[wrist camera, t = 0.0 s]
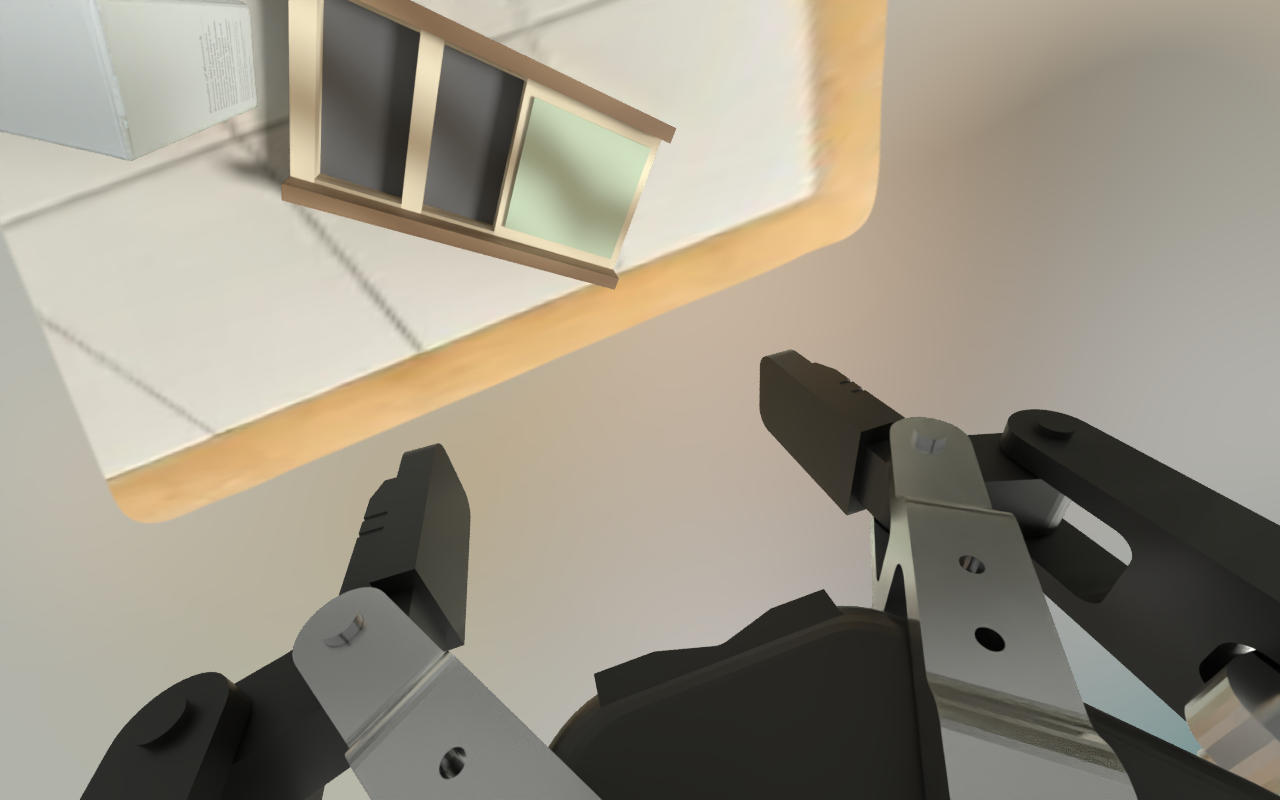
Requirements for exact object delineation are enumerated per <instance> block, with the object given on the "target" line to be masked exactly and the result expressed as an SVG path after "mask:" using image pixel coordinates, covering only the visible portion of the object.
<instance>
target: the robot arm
mask: <svg viewBox="0 0 1280 800" xmlns="http://www.w3.org/2000/svg"><path fill="white" fill-rule="evenodd" d="M760 414H761V418H762V420H763V423H764V425H765V427H766V428H767V430H768V431H769V432H770V433H771V434H772V435H773V436H774V437H775V438H776V439H777V440H778V441H779V443H781V445H782V446H783V447H784V448H785V449H786V450H787V451H788V452H789V453H790V455H791V456H792V457H793V458H794V459H795V460H796V461H797V462H798V463H799V464H800V465H801V466H802V467H803V469H805V471H806V472H807V473H808V474H809V475H810V476H811V477H812V478H813V479H814V480H815V482H816V483H817V484H818V485H819V486H820V487H821V488H822V489H823V490H824V491H825V492H826V493H827V495H828V496H829V497H830V498H831V499H832V500H833V501H834V502H835V503H836V504H837V505H838V506H839V507H840V509H841V510H842V511H843V512H844V513H845V514H846V515H850V514H853V513H856V512H859V511H862V510H865V509H867V510H868V511H869V512H870V513H871V514H872V518H871V524H870V535H871V564H872V594H873V595H872V608H864V607H857V606H836V605H835V604H834V603H833V601H832V600H831V598H830V597H829V596H828V594H827V593H826V592H825V590H824V589H823V590H820V591H817V592H814V593H812V594H809V595H806V596H804V597H801V598H798V599H796V600H793V601H790V602H788V603H785V604H782V605H779V606H777V607H774V608H772V609H770V610H768V611H767V612H766V613H764V614H763V615H762V616H760V617H759V618H758V619H756V620H755V621H754V622H752V623H751V624H750V625H748V626H747V627H745V628H744V629H743V630H741V631H740V632H739V633H737V634H736V635H735V636H733V637H732V638H731V639H729V640H728V641H727V642H725V643H723V644H721V645H718V646H711V647H700V648H689V649H679V650H667V651H656V652H652V653H649V654H647V655H644V656H641V657H638V658H636V659H633V660H630V661H628V662H625V663H622V664H620V665H617V666H614V667H611V668H609V669H606V670H603V671H601V672H598V673H595V674H594V677H595V682H596V687H597V692H598V694H597V695H596V696H594V697H593V698H592V699H591V700H589V701H588V702H586V703H585V704H584V705H583V706H582V707H581V708H580V709H579V710H578V711H576V712H575V713H574V714H573V716H572V717H571V718H570V719H569V720H568V721H567V722H566V724H565V725H564V726H563V727H562V728H561V729H560V731H559V732H558V734H557V735H556V736H555V738H554V739H553V741H552V742H551V744H550V745H549V747H547V746H546V745H545V744H544V743H543V742H542V741H541V740H540V739H539V738H538V737H537V736H536V735H535V734H534V733H533V732H532V731H531V730H530V729H529V728H528V727H527V726H526V725H525V724H524V723H523V722H522V721H521V720H520V719H518V717H517V716H515V714H514V713H512V712H511V711H510V710H509V709H508V708H507V707H506V706H505V705H504V704H503V703H502V702H501V701H500V700H499V699H498V698H497V697H496V696H495V695H494V694H493V693H492V692H491V691H490V690H489V689H488V688H487V687H486V686H485V685H484V684H483V683H482V682H481V681H480V680H479V679H478V678H477V677H476V676H475V675H474V674H473V673H471V671H470V670H468V669H467V668H466V667H465V666H464V665H463V664H462V663H461V662H460V661H459V660H458V659H457V658H456V657H455V656H454V655H453V654H451V653H450V652H449V651H448V650H451V649H453V648H457V647H459V646H462V645H464V640H465V618H466V599H467V578H468V557H469V537H470V508H469V503H468V499H467V496H466V493H465V491H464V489H463V487H462V484H461V482H460V480H459V478H458V476H457V474H456V472H455V470H454V468H453V466H452V464H451V462H450V459H449V457H448V455H447V453H446V451H445V449H444V448H443V446H442V445H441V444H439V443H438V444H434V445H430V446H427V447H423V448H419V449H415V450H412V451H408V452H405V453H404V454H403V457H402V460H401V464H400V468H399V471H398V475H397V477H396V478H393V479H389V480H385V481H384V482H383V484H382V485H381V486H380V487H379V489H378V490H377V491H376V492H375V494H374V495H373V496H372V497H371V499H370V501H369V504H368V507H367V510H366V513H365V516H364V520H365V521H364V522H363V523H362V525H361V528H360V531H359V536H360V537H359V538H357V541H356V544H355V547H354V550H353V553H352V556H351V559H350V562H349V566H348V569H347V572H346V575H345V578H344V581H343V584H342V587H341V590H340V593H339V596H338V597H336V598H334V599H332V600H331V601H329V602H328V603H327V604H325V605H324V606H323V607H321V608H320V609H319V610H318V611H317V612H316V613H315V614H314V615H313V616H312V617H311V618H310V619H309V620H308V621H307V623H306V624H305V625H304V626H303V628H302V630H301V631H300V632H299V634H298V637H297V638H296V641H295V643H294V646H293V650H292V651H290V652H288V653H287V654H285V655H284V656H282V657H280V658H278V659H277V660H275V661H273V662H271V663H270V664H268V665H266V666H264V667H263V668H261V669H259V670H258V671H256V672H254V673H252V674H251V675H249V676H247V677H246V678H244V679H242V680H241V681H239V682H237V683H235V684H234V683H232V682H231V681H230V680H228V679H227V678H226V677H225V676H223V675H222V674H220V673H217V672H207V673H201V674H198V675H194V676H191V677H189V678H187V679H185V680H182V681H180V682H179V683H176V684H175V685H173V686H171V687H170V688H168V689H167V690H165V691H163V692H162V693H161V694H159V695H158V696H156V697H155V698H154V699H153V700H152V701H150V702H149V703H148V704H146V705H145V706H144V707H143V708H142V709H141V710H140V711H139V712H138V713H137V714H136V715H135V716H134V717H133V718H132V719H131V720H130V721H129V722H128V723H127V724H126V725H125V726H124V727H123V729H122V730H121V731H120V733H119V734H118V735H117V737H116V738H115V739H114V741H113V742H112V744H111V746H110V747H109V749H108V751H107V753H106V754H105V756H104V758H103V760H102V761H101V763H100V765H99V767H98V768H97V770H96V772H95V774H94V776H93V777H92V779H91V781H90V783H89V784H88V786H87V788H86V790H85V791H84V793H83V795H82V797H81V798H80V800H322V796H323V791H324V786H325V785H326V784H327V783H329V782H330V781H331V780H333V779H334V778H335V777H337V776H338V775H340V774H341V773H343V772H344V771H345V770H347V769H348V768H350V767H351V768H352V770H353V772H354V773H355V775H356V776H357V778H358V780H359V781H360V783H361V784H362V786H363V788H364V789H365V791H366V792H367V794H368V795H369V797H370V799H371V800H1280V525H1278V524H1276V523H1274V522H1272V521H1270V520H1268V519H1266V518H1264V517H1263V516H1260V515H1259V514H1257V513H1255V512H1253V511H1251V510H1249V509H1248V508H1246V507H1244V506H1242V505H1240V504H1238V503H1236V502H1234V501H1232V500H1231V499H1229V498H1227V497H1225V496H1223V495H1221V494H1219V493H1217V492H1216V491H1214V490H1212V489H1210V488H1208V487H1206V486H1204V485H1202V484H1201V483H1199V482H1197V481H1195V480H1193V479H1191V478H1189V477H1187V476H1185V475H1183V474H1182V473H1180V472H1178V471H1176V470H1174V469H1172V468H1170V467H1168V466H1167V465H1165V464H1163V463H1161V462H1159V461H1157V460H1155V459H1153V458H1152V457H1149V456H1147V455H1146V454H1144V453H1142V452H1140V451H1138V450H1136V449H1134V448H1133V447H1131V446H1129V445H1127V444H1125V443H1123V442H1121V441H1119V440H1118V439H1116V438H1114V437H1112V436H1110V435H1108V434H1106V433H1104V432H1103V431H1101V430H1099V429H1097V428H1095V427H1093V426H1091V425H1089V424H1088V423H1086V422H1084V421H1081V420H1079V419H1077V418H1074V417H1072V416H1069V415H1066V414H1063V413H1059V412H1054V411H1048V410H1038V409H1031V410H1023V411H1018V412H1016V413H1014V414H1012V415H1011V416H1010V417H1009V419H1008V421H1007V424H1006V426H1005V429H1004V432H1003V433H996V434H978V435H967V434H966V433H964V432H963V431H962V430H960V429H959V428H958V427H956V426H954V425H952V424H950V423H947V422H945V421H941V420H937V419H933V418H927V417H910V418H905V417H903V416H902V415H900V414H899V413H897V412H896V411H894V410H893V409H892V408H890V407H889V406H887V405H886V404H884V403H883V402H881V401H880V400H879V399H877V398H876V397H874V396H873V395H871V394H870V393H869V392H867V391H865V390H864V391H863V390H862V388H861V387H860V386H858V385H857V384H855V383H854V382H850V379H848V378H847V377H846V376H844V375H843V374H841V373H840V372H838V371H837V370H835V369H833V368H830V367H827V366H824V365H821V364H818V363H811V362H810V361H808V360H807V359H806V358H804V357H803V356H802V355H800V354H799V353H797V352H796V351H794V350H787V351H783V352H780V353H776V354H772V355H769V356H765V357H763V358H762V360H761V363H760ZM1071 501H1074V502H1075V503H1076V504H1078V505H1079V506H1081V507H1082V508H1084V509H1085V510H1087V511H1088V512H1090V513H1091V514H1093V515H1094V516H1095V517H1097V518H1098V519H1100V520H1101V521H1103V522H1104V523H1106V524H1107V525H1109V526H1110V527H1111V528H1113V529H1114V530H1116V531H1117V532H1118V533H1120V534H1121V535H1122V536H1123V537H1124V539H1125V540H1126V541H1127V543H1128V544H1129V546H1130V548H1131V551H1132V560H1131V562H1130V564H1129V565H1128V566H1127V565H1125V564H1124V563H1123V562H1121V561H1120V560H1119V559H1117V558H1116V557H1115V556H1113V555H1112V554H1111V553H1109V552H1108V551H1106V550H1105V549H1104V548H1102V547H1101V546H1100V545H1098V544H1097V543H1096V542H1094V541H1093V540H1091V539H1090V538H1089V537H1087V536H1086V535H1085V534H1083V533H1082V532H1081V531H1079V530H1078V529H1076V528H1075V527H1074V526H1072V525H1071V524H1069V523H1068V522H1067V521H1065V520H1064V519H1063V516H1064V514H1065V512H1066V510H1067V508H1068V507H1069V505H1070V503H1071ZM1043 593H1044V594H1045V595H1046V596H1047V597H1049V598H1050V599H1051V600H1052V601H1053V602H1054V603H1055V604H1057V606H1058V607H1060V608H1061V609H1062V610H1063V611H1064V612H1065V613H1066V614H1067V615H1068V616H1070V617H1071V618H1072V619H1073V620H1074V621H1075V622H1076V623H1077V624H1079V625H1080V626H1081V627H1082V628H1083V629H1084V630H1085V631H1086V632H1087V633H1088V634H1090V635H1091V636H1092V637H1093V638H1094V639H1095V640H1096V641H1097V642H1099V643H1100V644H1101V645H1102V646H1103V647H1104V648H1105V649H1106V650H1107V651H1109V652H1110V653H1111V654H1112V655H1113V656H1114V657H1115V658H1116V659H1117V660H1118V661H1120V662H1121V663H1122V664H1123V665H1124V666H1125V667H1126V668H1127V669H1128V670H1130V671H1131V672H1132V673H1133V674H1134V675H1135V676H1136V677H1137V678H1139V680H1141V681H1142V682H1143V683H1144V684H1145V685H1146V686H1147V687H1148V688H1150V689H1151V690H1152V691H1153V692H1154V693H1155V694H1156V695H1157V696H1158V697H1159V698H1161V699H1162V700H1163V701H1164V702H1165V703H1166V704H1167V705H1168V706H1169V707H1171V708H1172V709H1173V710H1174V711H1175V712H1176V713H1177V714H1178V715H1180V716H1181V717H1182V718H1183V719H1184V720H1185V721H1186V722H1187V724H1188V726H1189V728H1190V731H1191V732H1192V734H1193V736H1194V737H1195V739H1196V740H1197V742H1198V743H1199V744H1200V745H1201V747H1202V748H1201V749H1200V750H1199V751H1198V752H1197V756H1196V755H1194V754H1192V753H1190V752H1188V751H1185V750H1183V749H1181V748H1179V747H1177V746H1175V745H1173V744H1171V743H1169V742H1166V741H1164V740H1162V739H1160V738H1158V737H1156V736H1154V735H1151V734H1149V733H1147V732H1145V731H1143V730H1141V729H1139V728H1136V727H1135V726H1132V725H1130V724H1128V723H1126V722H1124V721H1122V720H1120V719H1117V718H1115V717H1113V716H1111V715H1109V714H1107V713H1105V712H1103V711H1101V710H1098V709H1096V708H1094V707H1092V706H1090V705H1088V704H1086V703H1084V702H1083V701H1082V699H1081V696H1080V693H1079V690H1078V688H1077V685H1076V682H1075V680H1074V676H1073V674H1072V671H1071V668H1070V666H1069V663H1068V660H1067V657H1066V654H1065V652H1064V649H1063V646H1062V643H1061V641H1060V638H1059V635H1058V632H1057V630H1056V627H1055V624H1054V621H1053V619H1052V616H1051V613H1050V610H1049V607H1048V605H1047V602H1046V599H1045V596H1044V594H1043ZM445 651H446V652H445Z"/></svg>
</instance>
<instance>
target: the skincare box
mask: <svg viewBox="0 0 1280 800" xmlns="http://www.w3.org/2000/svg"><path fill="white" fill-rule="evenodd" d="M256 106H257V95H256V87H255V77H254V66H253V52H252V40H251V28H250V17H249V8H248V6H247V5H246V4H245V3H243V2H240V1H238V0H0V132H4V133H9V134H14V135H18V136H23V137H27V138H32V139H37V140H41V141H46V142H50V143H54V144H59V145H63V146H67V147H71V148H76V149H81V150H85V151H90V152H95V153H99V154H103V155H107V156H112V157H116V158H120V159H123V160H128V161H133V160H134V159H136V158H139V157H141V156H143V155H146V154H148V153H151V152H153V151H155V150H157V149H160V148H162V147H164V146H167V145H169V144H171V143H174V142H176V141H179V140H181V139H183V138H185V137H188V136H190V135H192V134H195V133H197V132H199V131H202V130H204V129H207V128H209V127H211V126H214V125H216V124H218V123H221V122H223V121H225V120H227V119H230V118H232V117H234V116H237V115H239V114H242V113H244V112H246V111H248V110H251V109H253V108H256Z"/></svg>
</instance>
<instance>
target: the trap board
mask: <svg viewBox="0 0 1280 800" xmlns="http://www.w3.org/2000/svg"><path fill="white" fill-rule="evenodd" d="M288 6H289V104H290V177H288V178H287V179H286V180H285V181H284V182H283V183H281V186H282V200H283V201H287V202H291V203H294V204H298V205H302V206H305V207H309V208H313V209H317V210H320V211H324V212H328V213H332V214H335V215H339V216H343V217H346V218H350V219H354V220H358V221H361V222H365V223H369V224H373V225H376V226H380V227H384V228H387V229H391V230H395V231H399V232H402V233H406V234H410V235H413V236H417V237H421V238H425V239H428V240H432V241H436V242H440V243H443V244H447V245H451V246H454V247H458V248H462V249H466V250H469V251H473V252H477V253H481V254H484V255H488V256H492V257H495V258H499V259H503V260H507V261H510V262H514V263H518V264H522V265H525V266H529V267H533V268H536V269H540V270H544V271H548V272H551V273H555V274H559V275H562V276H566V277H570V278H574V279H577V280H581V281H585V282H589V283H592V284H596V285H600V286H603V287H607V288H611V289H615V287H616V285H617V282H618V279H619V278H618V277H617V275H616V273H615V272H614V270H613V269H614V266H615V263H616V261H617V258H618V255H619V253H620V250H621V247H622V245H623V242H624V239H625V236H626V234H627V231H628V228H629V226H630V223H631V220H632V218H633V215H634V212H635V210H636V207H637V204H638V201H639V199H640V196H641V193H642V191H643V188H644V185H645V183H646V180H647V177H648V174H649V172H650V169H651V166H652V164H653V161H654V158H655V156H656V153H657V150H658V148H659V145H660V142H661V139H662V140H664V141H666V142H668V143H671V140H672V138H673V135H674V133H675V130H676V128H674V127H672V126H670V125H668V124H666V123H664V122H662V121H660V120H658V119H656V118H654V117H652V116H649V115H647V114H645V113H643V112H641V111H639V110H637V109H635V108H633V107H631V106H629V105H627V104H624V103H622V102H620V101H618V100H616V99H614V98H612V97H610V96H608V95H606V94H604V93H602V92H600V91H597V90H595V89H593V88H591V87H589V86H587V85H585V84H583V83H581V82H579V81H577V80H575V79H572V78H570V77H568V76H566V75H564V74H562V73H560V72H558V71H556V70H554V69H552V68H550V67H547V66H545V65H543V64H541V63H539V62H537V61H535V60H533V59H531V58H529V57H527V56H525V55H523V54H520V53H518V52H516V51H514V50H512V49H510V48H508V47H506V46H504V45H502V44H500V43H498V42H495V41H493V40H491V39H489V38H487V37H485V36H483V35H481V34H479V33H477V32H475V31H473V30H470V29H468V28H466V27H464V26H462V25H460V24H458V23H456V22H454V21H452V20H450V19H448V18H446V17H443V16H441V15H439V14H437V13H435V12H433V11H431V10H429V9H427V8H425V7H423V6H421V5H418V4H416V3H414V2H412V1H410V0H288Z"/></svg>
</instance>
